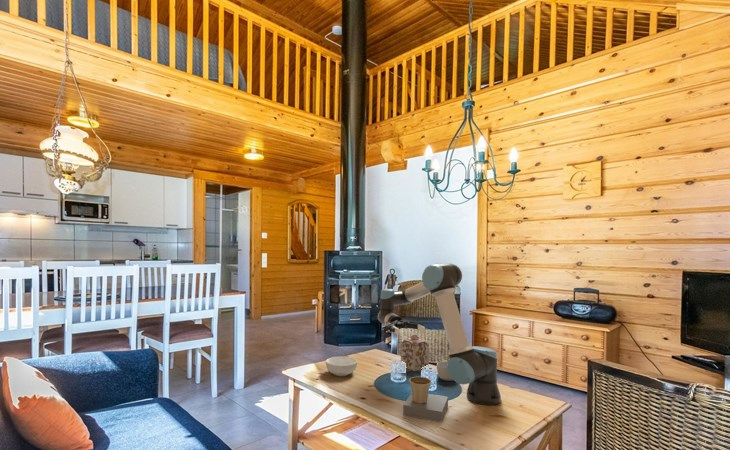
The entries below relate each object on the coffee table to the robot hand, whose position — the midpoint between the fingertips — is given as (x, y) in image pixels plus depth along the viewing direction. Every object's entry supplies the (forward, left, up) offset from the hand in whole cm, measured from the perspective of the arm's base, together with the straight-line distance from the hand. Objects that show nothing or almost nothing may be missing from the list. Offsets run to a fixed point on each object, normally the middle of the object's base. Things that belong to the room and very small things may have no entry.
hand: (411, 331), depth 180 cm
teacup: (-12, -31, -30) cm, 45 cm away
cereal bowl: (+42, -14, -30) cm, 54 cm away
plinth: (-10, +12, -30) cm, 34 cm away
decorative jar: (+8, -41, -30) cm, 51 cm away
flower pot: (-7, +14, -26) cm, 30 cm away
